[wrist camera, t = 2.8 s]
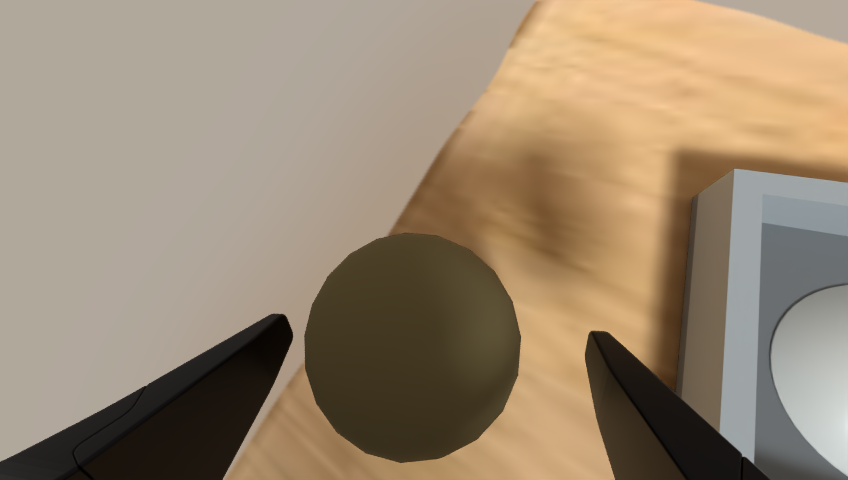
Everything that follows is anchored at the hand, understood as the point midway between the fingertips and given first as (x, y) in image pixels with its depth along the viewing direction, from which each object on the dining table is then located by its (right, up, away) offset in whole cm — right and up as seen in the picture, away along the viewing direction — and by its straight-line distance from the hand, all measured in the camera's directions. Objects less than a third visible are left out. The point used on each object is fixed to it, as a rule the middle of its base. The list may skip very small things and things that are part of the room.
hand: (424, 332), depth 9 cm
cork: (+2, -2, +7) cm, 8 cm away
